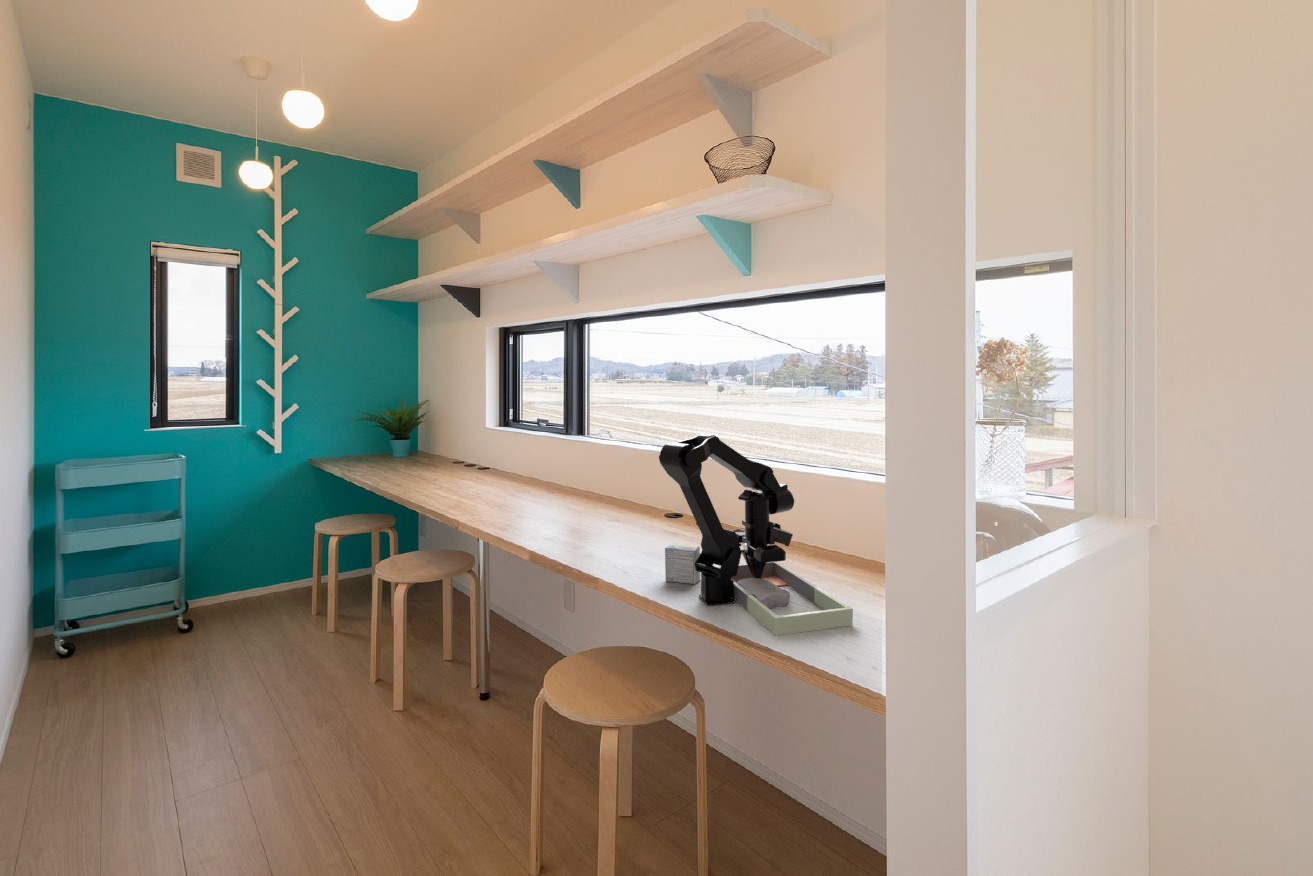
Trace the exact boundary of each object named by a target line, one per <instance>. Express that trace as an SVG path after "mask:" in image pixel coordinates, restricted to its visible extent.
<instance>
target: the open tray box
mask: <svg viewBox="0 0 1313 876" xmlns="http://www.w3.org/2000/svg"><path fill="white" fill-rule="evenodd" d="M717 567H719V568H720V567H721V566H719V565H717ZM747 578H753V576H752V574H751V572H750V569H749V567H748V565H747V563H741V564H740V563H739V567H738V571H737V575H736V576H733V577H731V579H733V580H734V597H733V599H734V602H737V603H738V604H739V605H740V606H741V607H742V608H743V609H745V611H747V612H748V613H749V614H750V615H751V616H752V617H754V619H756V620H757V621H758V622H759V623H760V624H762V625H763V626H764V627H765V628H766V629H767V630H768V631H770V633H772V634H773V635H774V636H781V635H783V636H784V635H788V634H789V635H791V634H796V633H806V632H812V631H813V632H814V631H820V630H829V629H836V628H842V627H851V626H854V625H853V623H854V622H853V621H854V620H853V618H854V613H853V612H854V609H853V607H850V606H849V605H848V604H846V603H844V602H843V601H841V600H839V599H838V598H836V597H835V596H833V595H831V594H830V593H828V592H827V591H825V590H824V589H822V588H821V587H819V586H817V585H816V584H813V583H812V582H811V581H809V580H808V579H806V578H805V577H802V576H801V575H800V574H798V573H797V572H795V571H794V570H791V569H789V568H788V567H787V566H785V565H783V564H782V563H780V561H777V562H767V563H766V565H765V567H764V570H763V573H762V577H761V579H765V580H768V581H770V582H772V583H774V584H775V585H776V586H777V587H785V586H788V587H790V588H792V590H794V591H796V592H798V593H799V594H800V595H801V596H803V597H804V598H806V599H807V600H809V601H811V603H813V604H815V605H816V606H818V607H819V608H821V610H815V611H807V612H798V613H791V614H790V613H789V614H783V615H777V614H776V613H775V612H774V611H772V609H769V608H767V607H766V606H765V605H764V604H762V603H761V602H760V601H759V600H757V599H756V598H755V597H754V596H752V595H751V594H750V593H749V592H747V591H746V590H745V589H744V588H742V587H741V586H740V585H739V584H738V583H737V582H739V581H740V580H743V579H747Z"/></svg>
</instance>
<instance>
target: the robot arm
mask: <svg viewBox="0 0 1313 876" xmlns="http://www.w3.org/2000/svg"><path fill="white" fill-rule="evenodd" d="M709 458H710V459H712V460H714V462H716V463H718V464H720V466H722V467H724V468H725V469H728V470H729V471H730V472H731V473H732V474H734V476H735V479H736V480H737V481H738V483H740V484H741V485H742V486H743V488H748V489H744V490H743V492H742V493H741V494H739V496H738V500H740V501H744V519H742V520H741V524H742V526H744V531H737V532H735V531H734V530H730V529H726V528H724V527H723V525H722V523H721V521H720V518H719V516H718V513H717V511H716V509H715V507H714V505H713V503H712V501H711V497H710V496H709V493H708V491H707V489H706V486H705V483H704V482H703V480H702V477H701V475H702V474H701V473H702V468H703V465H702V464H703V463H704V462H705V461H706V462H707V460H708V459H709ZM658 461H659V463H660V465H661V467H662V468H663V469H664V471H665V472H666V473H667V475H668V476H669V477H670V478H672V479H673V480H674V482H676V483H677V484H678V486H679V487H680V489H681V490H680V491H681V492H682V494H683V497H684V499H685V501H686V503H687V505H688V507H689V509H690V512H691V513H692V515H693V518H694V520H695V522H696V524H697V527H698V529H699V532H700V533H701V536H702V537H701V541H700V542H701V543H700V549H701V551H700V555H699V557H698V558H697V560H696V562H695V563H694V565H695V569H696V571H697V572H700V585H701V586H700V588H701V589H700V594H698V597H699V599H701V601H702V602H703V603H705V605H706V606H715V605H716V606H718V605H727V604H734V603H735V600H734V599H733V597H734V580H733V579H731V577H733V576H736V575H737V571H738V567H739V564H740V562H741V558H742V557H743V559H744V560H745V562H746V563H745V564H747V565H748V567H749V569H750V572H751V574H752V576H753V578H759V579H761V577H762V573H763V570H764V567H765V565H766V563H767V562H784V561H786V559H787V552H786V550H784V549H783V547H780V546H778V545H777V544H775V543H778V544H780V545H781V544H782V545H784V546H785V547H790V545H791V542H792V539H793V533H791V532H789V531H787V530H784V529H782V527H781V524H779V523H778V522H777V523H776V522H774V521H770V515H775V514H780V513H785V512H789V511H790V510H792V509H793V508H794V504H795V498H794V495H793V493H792V492H791V491H790V490H789V488H788V484H785V483H779V482H778V480H777V478H776V476H775V474H774V470H773V468H772V467H771V466H768V465H766V464H763V463H761V462H757V461H753V460H750V459H749V458H747V457H746V456H744V455H743V454H741V453H740V452H739V451H737V450H736V449H734V448H732V447H731V446H729V445H728V444H727V443H725V442H723V441H722V440H721V439H720V438H719V437H718V436H717V435H715V434H708V433H707V434H706V433H701V434H698V435H695V436H694V437H691V438H687V439H683V440H680V441H677V442H667V443H666V444H664V445H663V446H662V448H661V450H660V453H659V455H658ZM752 490H753V491H752ZM742 546H743V549H742V550H741V547H742ZM715 565H716V566H715ZM718 566H721V567H720V568H719V567H718Z"/></svg>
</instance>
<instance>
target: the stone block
mask: <svg viewBox="0 0 1313 876" xmlns="http://www.w3.org/2000/svg"><path fill="white" fill-rule="evenodd" d="M737 583H738V584H739V585H740V586H741V587H742V588H744V589H745V590H746V591H747V592H749V593H750V594H751V595H752V596H754V597H755V598H756V599H757V600H759V601H760V602H761V603H762V604H764V605H765V606H766V607H767V608H769V609H770V610H773V609H777V608H778V609H779V608H785V607H787V605H788V604H789V602H790V601H791V594H790V593H791V592H790V591H789V590H787V589H785V588H781V587H780V586H776V585H775V584H774V583H772V582H770V581H768V580H765V579H759V578H747V579H743V580H740V581H739V582H737Z"/></svg>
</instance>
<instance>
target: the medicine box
mask: <svg viewBox="0 0 1313 876" xmlns="http://www.w3.org/2000/svg"><path fill="white" fill-rule="evenodd" d="M700 550H701V546H699V545H690V544H689V545H688V544H679V543H678V544H677V543H670V544H669V545H667V546H666V547H665V548H664V560H665V561H664V565H665V566H664V567H665V568H664V569H665V574H664V575H665V582H668V583H669V582H670V583H680V584H691V585H696V584H697V583H698V582H699V581H701V572H697V571H696V569H695V565H694V563H695V562H696V560H697V558H698V557H699V555H700V554H701V551H700Z"/></svg>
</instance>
